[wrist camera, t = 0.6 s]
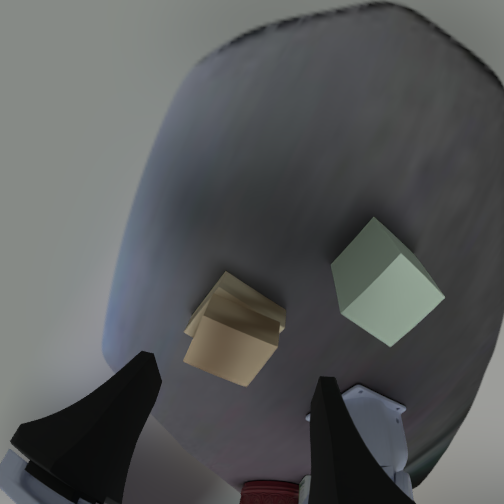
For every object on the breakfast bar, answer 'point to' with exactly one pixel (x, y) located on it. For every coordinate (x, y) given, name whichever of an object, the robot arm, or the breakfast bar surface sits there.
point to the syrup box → (304, 488)
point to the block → (383, 284)
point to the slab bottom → (238, 302)
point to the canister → (269, 493)
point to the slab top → (233, 341)
